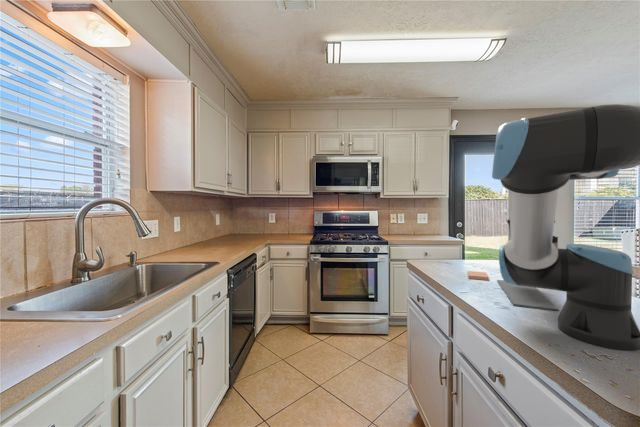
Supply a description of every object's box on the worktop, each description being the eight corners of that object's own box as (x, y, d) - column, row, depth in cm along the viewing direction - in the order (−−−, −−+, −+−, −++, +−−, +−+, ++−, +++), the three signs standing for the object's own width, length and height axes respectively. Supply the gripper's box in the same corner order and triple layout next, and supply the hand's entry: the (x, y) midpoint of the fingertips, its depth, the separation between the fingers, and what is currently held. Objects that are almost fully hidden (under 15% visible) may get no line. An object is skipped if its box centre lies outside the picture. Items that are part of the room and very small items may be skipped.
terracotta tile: (488, 277, 116) (486, 272, 124) (468, 275, 120) (467, 270, 128) (488, 281, 116) (486, 276, 125) (468, 279, 120) (467, 274, 128)
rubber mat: (558, 311, 83) (558, 309, 83) (513, 305, 88) (513, 303, 88) (530, 284, 110) (530, 282, 110) (496, 281, 115) (496, 279, 115)
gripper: (555, 200, 90) (554, 266, 91) (500, 201, 97) (500, 263, 98) (564, 200, 83) (563, 271, 84) (504, 201, 90) (504, 267, 91)
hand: (529, 267), depth 91 cm, fingers closed on steel trowel, 3 cm apart
